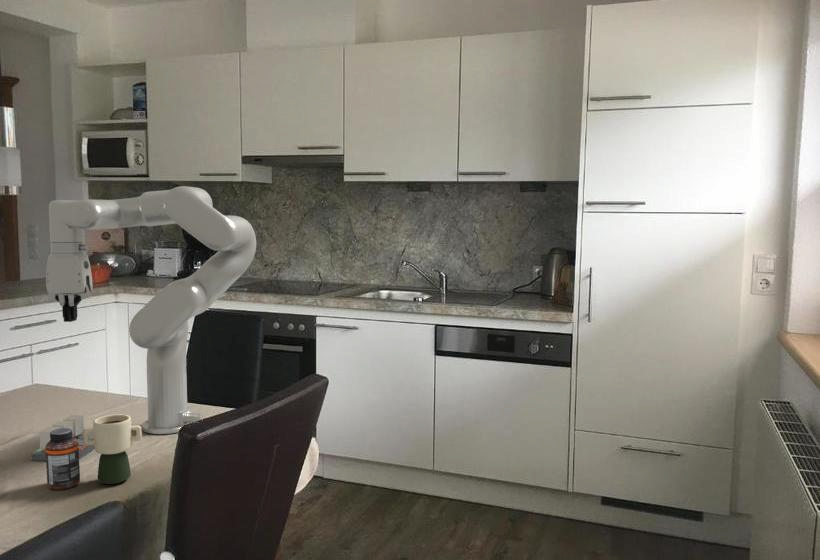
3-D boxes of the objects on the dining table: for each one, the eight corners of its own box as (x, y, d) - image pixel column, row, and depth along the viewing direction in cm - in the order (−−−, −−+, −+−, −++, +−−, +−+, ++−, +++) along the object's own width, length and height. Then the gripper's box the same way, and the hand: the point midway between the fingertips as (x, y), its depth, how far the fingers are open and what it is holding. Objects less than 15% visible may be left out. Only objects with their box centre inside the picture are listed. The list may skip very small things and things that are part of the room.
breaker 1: (73, 437, 159) (72, 421, 159) (64, 442, 156) (64, 425, 156) (60, 437, 160) (60, 420, 159) (52, 442, 156) (51, 425, 156)
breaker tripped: (61, 444, 155) (61, 427, 155) (53, 449, 152) (52, 431, 151) (49, 443, 155) (48, 426, 155) (40, 448, 152) (39, 431, 151)
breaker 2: (83, 431, 164) (83, 415, 163) (75, 436, 160) (75, 419, 160) (71, 431, 164) (71, 415, 164) (63, 435, 161) (63, 419, 160)
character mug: (144, 471, 144) (142, 411, 143) (141, 484, 137) (139, 421, 136) (87, 477, 141) (85, 416, 140) (82, 490, 134) (80, 426, 133)
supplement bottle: (55, 479, 139) (52, 426, 138) (85, 479, 140) (82, 425, 139) (41, 491, 134) (39, 435, 132) (73, 490, 134) (70, 435, 133)
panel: (111, 438, 165) (111, 431, 165) (74, 461, 150) (74, 454, 149) (72, 436, 166) (72, 430, 166) (31, 460, 150) (31, 453, 150)
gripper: (103, 248, 175) (106, 319, 176) (47, 248, 176) (51, 318, 178) (87, 250, 167) (90, 324, 169) (29, 249, 168) (33, 322, 170)
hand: (70, 320), depth 173 cm, fingers closed
